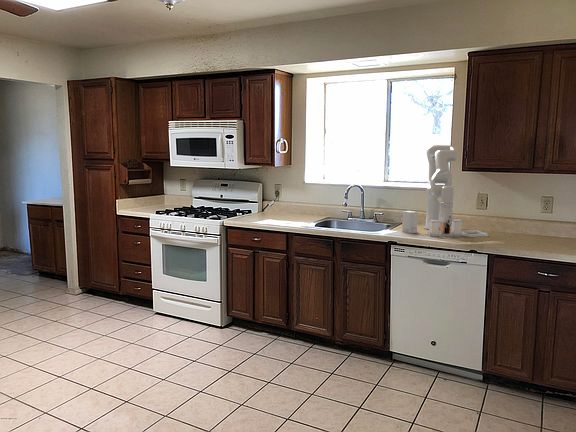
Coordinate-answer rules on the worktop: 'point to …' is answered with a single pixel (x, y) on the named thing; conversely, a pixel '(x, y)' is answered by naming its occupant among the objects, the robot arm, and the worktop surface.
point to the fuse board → (443, 236)
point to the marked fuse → (443, 229)
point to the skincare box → (409, 222)
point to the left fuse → (434, 227)
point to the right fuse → (456, 227)
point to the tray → (474, 234)
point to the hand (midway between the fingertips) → (445, 232)
